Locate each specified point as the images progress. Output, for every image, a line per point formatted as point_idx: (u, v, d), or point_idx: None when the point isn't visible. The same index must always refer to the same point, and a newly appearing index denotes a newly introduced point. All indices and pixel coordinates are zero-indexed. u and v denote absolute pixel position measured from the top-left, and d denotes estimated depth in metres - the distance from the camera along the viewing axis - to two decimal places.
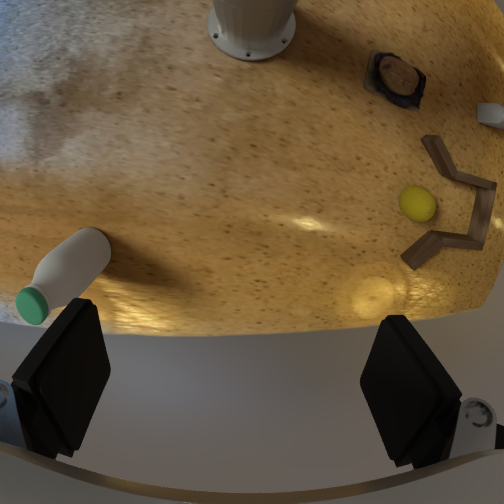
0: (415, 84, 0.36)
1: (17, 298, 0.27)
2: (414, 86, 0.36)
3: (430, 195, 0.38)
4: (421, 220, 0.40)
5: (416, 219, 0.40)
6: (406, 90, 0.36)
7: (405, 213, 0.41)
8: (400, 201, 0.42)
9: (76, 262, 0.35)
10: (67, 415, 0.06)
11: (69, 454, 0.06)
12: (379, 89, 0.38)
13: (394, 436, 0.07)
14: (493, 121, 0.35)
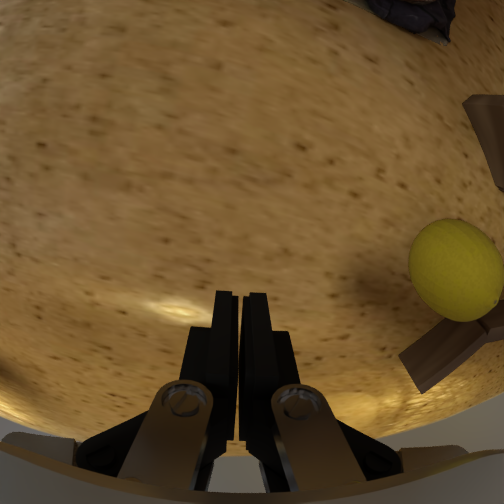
0: None
1: None
2: None
3: (497, 257, 0.12)
4: (463, 321, 0.13)
5: (451, 318, 0.14)
6: None
7: (424, 298, 0.15)
8: (414, 264, 0.15)
9: None
10: None
11: None
12: None
13: (240, 415, 0.08)
14: None
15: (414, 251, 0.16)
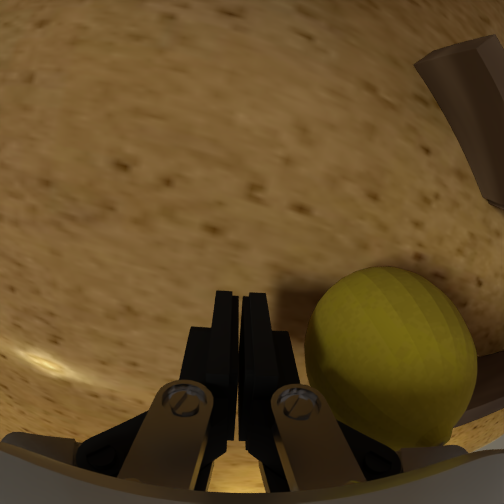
0: None
1: None
2: None
3: (461, 358, 0.06)
4: None
5: None
6: None
7: None
8: (305, 350, 0.10)
9: None
10: None
11: None
12: None
13: (239, 415, 0.08)
14: None
15: (308, 328, 0.10)
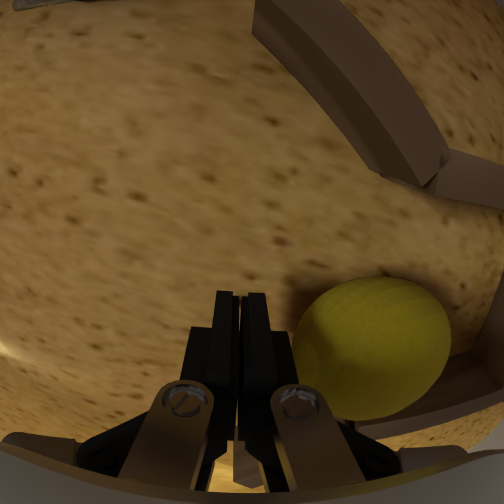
0: None
1: None
2: None
3: None
4: None
5: None
6: None
7: None
8: (397, 408, 0.08)
9: None
10: None
11: None
12: None
13: (239, 415, 0.08)
14: None
15: (398, 399, 0.08)
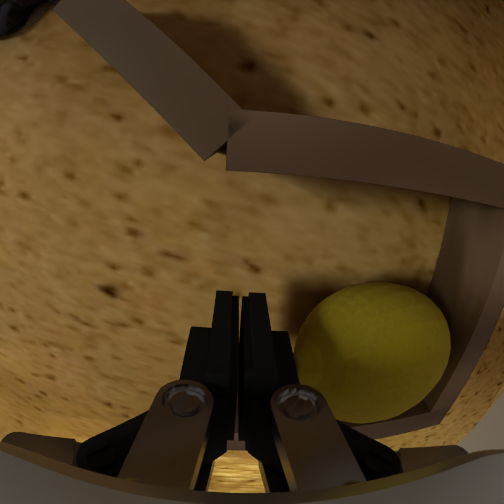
0: None
1: None
2: None
3: None
4: None
5: None
6: None
7: None
8: (397, 411, 0.08)
9: None
10: None
11: None
12: None
13: (239, 415, 0.08)
14: None
15: (399, 402, 0.08)
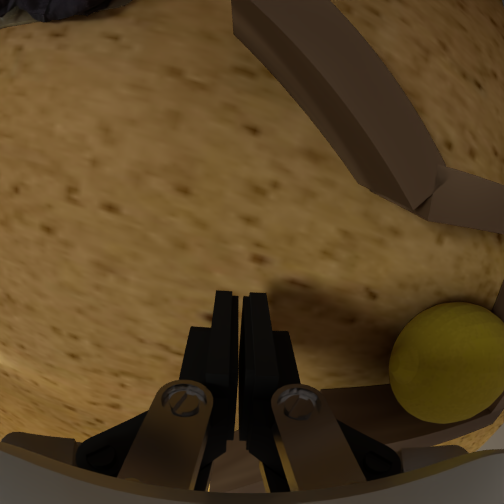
0: None
1: None
2: None
3: None
4: None
5: None
6: None
7: None
8: (467, 413, 0.08)
9: None
10: None
11: None
12: (4, 8, 0.06)
13: (240, 415, 0.08)
14: None
15: (470, 403, 0.08)
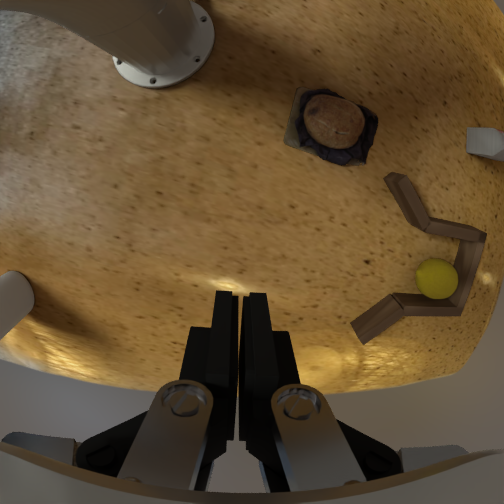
0: (357, 131, 0.31)
1: None
2: (355, 134, 0.31)
3: None
4: None
5: None
6: (342, 141, 0.31)
7: (439, 298, 0.35)
8: (440, 289, 0.34)
9: None
10: None
11: None
12: (304, 143, 0.32)
13: (240, 415, 0.08)
14: (486, 152, 0.29)
15: (440, 284, 0.34)
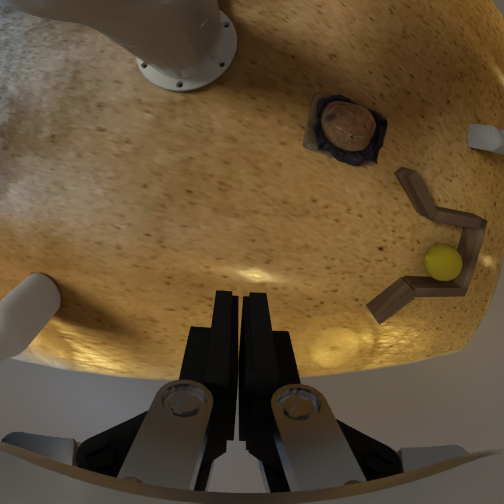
0: (369, 135, 0.33)
1: None
2: (368, 138, 0.33)
3: None
4: None
5: None
6: (356, 145, 0.34)
7: (445, 280, 0.38)
8: (447, 272, 0.37)
9: (19, 317, 0.31)
10: None
11: None
12: (322, 147, 0.35)
13: (240, 415, 0.08)
14: (486, 147, 0.31)
15: (447, 267, 0.37)
